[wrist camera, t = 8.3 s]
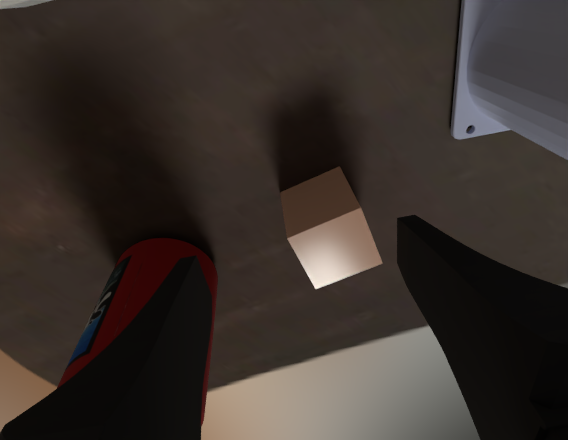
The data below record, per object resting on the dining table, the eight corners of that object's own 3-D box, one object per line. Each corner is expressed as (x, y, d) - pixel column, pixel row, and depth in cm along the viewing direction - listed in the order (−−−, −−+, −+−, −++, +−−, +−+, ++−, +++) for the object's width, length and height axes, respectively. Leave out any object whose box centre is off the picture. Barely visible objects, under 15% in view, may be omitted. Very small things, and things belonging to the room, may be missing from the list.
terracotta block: (339, 166, 22) (360, 207, 18) (359, 215, 24) (382, 263, 20) (280, 192, 23) (287, 238, 19) (304, 238, 25) (315, 289, 21)
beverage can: (100, 243, 24) (-9, 432, 14) (200, 220, 23) (164, 396, 13) (143, 313, 27) (82, 503, 17) (231, 294, 27) (220, 476, 17)
